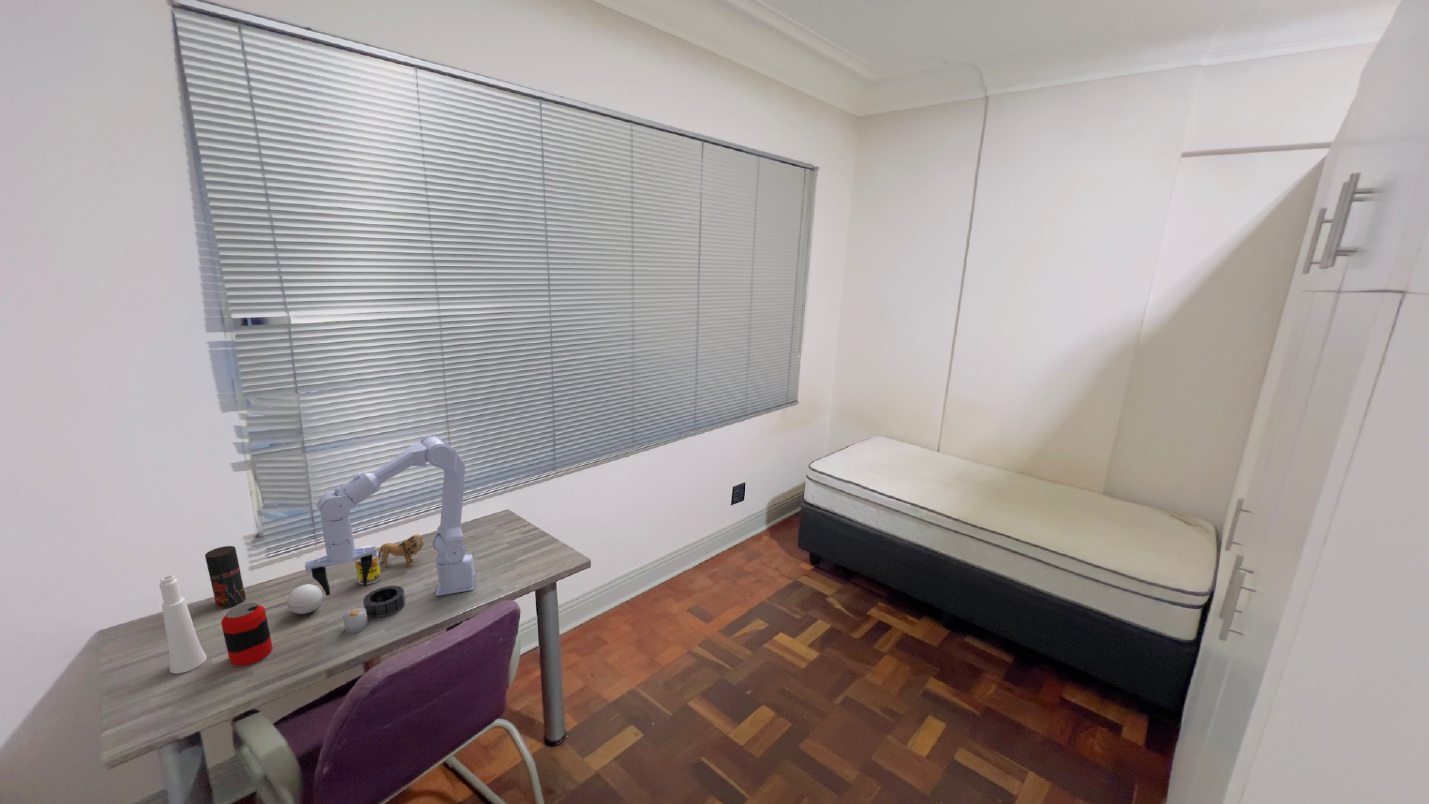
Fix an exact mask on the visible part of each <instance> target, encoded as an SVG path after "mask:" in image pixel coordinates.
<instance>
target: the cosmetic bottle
mask: <svg viewBox="0 0 1429 804" xmlns="http://www.w3.org/2000/svg"><path fill="white" fill-rule="evenodd" d="M159 588H160V593H161V596H162V600H163V603H162V604H161V610H162V616H163V622H164V626H165V627H164V628H165V632H166V633H165V634H166V639H167V645H168V652H169V653H168V654H169V672H170V673H171V674H176V675H177V674H184V673H186V672H190V671H193V670H194V669H197V668H198V667H200V666H201V665H203V664H204V663H206V661H207V659H208V656H207V654H206V653H205V651H204V649H203V647H202V645H201V643H200V640H199V638H198V635H197V632H196V629H195V626H194V624H193V620H192V617H191V613H190V610H189V607H188V605H187V602H186V599H185V597H182V594H181V593H182V592H181V589H180V586H179V581H178V579H177V578H176V576H175V575H174V574H169V575H166V576H162V578H160V583H159Z"/></svg>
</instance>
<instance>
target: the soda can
mask: <svg viewBox="0 0 1429 804" xmlns="http://www.w3.org/2000/svg"><path fill="white" fill-rule="evenodd" d="M221 619H222V620H221V622H220V624H221V628H222V634H223V637H224V641H225V647H226V650H227V655H228V659H229V663H230V664H231V665H233V666H236V667H245V666H248V665H252V664H255V663H257V662H259V661H262V660H263V659H264V658H266V657H267V656H268V655H269V654H270V653H271V652H272V650H273V643H272V638H271V634H270V633H271V632H270V629H269V622H268V618H267V613H266V609H265V607H264V606H262V605H260V604H258V603H257V602H247V603H243V604H242V603H241V604H238V605H236V606H234V607H231V608H229V610H228V611H226V613H225V615H224V616H223V617H222V618H221Z"/></svg>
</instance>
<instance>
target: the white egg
mask: <svg viewBox="0 0 1429 804" xmlns="http://www.w3.org/2000/svg"><path fill="white" fill-rule="evenodd" d="M323 598H324V597H323V592H322V589H321V588H320V587H318V586H317V585H315V584H310V583H307V584H303V585H300V586H297V587H296V588H295V589H293V590H292V591H291V592H290V594H289V596H288V598H287V604H284V605H283V606H281V607H280V609H281V608H283V607H286V605H287V607H288V608H289V610H290V611H292V612H293V613H295V614H299V615H305V614H309V613H311V612H314V611H315V610H317V608H318V607H320V605H321V603H322V601H323Z"/></svg>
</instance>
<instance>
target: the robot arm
mask: <svg viewBox="0 0 1429 804" xmlns="http://www.w3.org/2000/svg"><path fill="white" fill-rule="evenodd" d="M427 463H428V464H430V465H431V466H433V467H435V468H438V469H441V470H442V471H443V480H442V481H443V483H442V495H441V497H442V499H441V511H440V523H439V524H440V525H439V526H437V528H436V533H435V534H436V535H434V538H433V539H432V548H433V549H434V550H435V551H436V552H437V556H436V557H435V558H436V559H435V563H436V571H437V580H438V585H437V588H436V593H435V596H437V597H439V596H445V595H451V594H457V593H461V592H469V591H473V590H474V588H475V582H476V581H475V580H476V572H475V565H474V564H475V563H474V556H473V554H467V547H466V545H465V544H464V543H465V542H464V535H463V530H462V527H461V526H462V515H463V513H462V512H463V501H464V487H465V476H466V474H465V473H466V465H465V463H464V461H463V460H462V459H461V457H460V455H459V454H458V453H457V450H456V449H454V448H453V447H451V446H450V445H449V444H448V443H447V442H446V441H444V440H443V439H441V438H440V437H438V436H436V435H428V436H425V437H424V438H422V439H421V440H420V441H416V442H414V443H412V445H410V446H409V447H408V448H407V449H405V450H404V451H403V452H401V453H400V454H399V455H397V456H395V457H393V458H392V459H391V460H390V461H388V462H386V463H385V464H384V465H382V466H381V467H379V468H378V469H376V470H375V471H373V472H365V471H364V472H363V473H361V474H360V473H356V474H354V475H353V478H352V479H351V480H349V481H347V482H346V483H345V484H343V485H341V486H339V487H338V486H336V487H334V489H333V490H332V491H326V492H325V493H323V494H321V496H320V497H319V499H317V503H316V507H317V509H318V510H319V512H320V514H321V515H320V516H321V520H320V521H321V529H322V535H323V539H324V540H323V541H324V546H325V547H324V548H325V551H326V552H325V553H326V555H324V556H321V557H319V558H316V559H312V560H309V561H306V562H305V564H304V569H305V573H311V576H312V579H314V580H315V581H316V582H317V583H318V584H319V585H320V586H321V587H322V589H323V591H324V593H325V595H326V596H330V595H331V588H330V584H329V581H328V575H327V574H328V573H327V569H326V568H328V567H331V566H337V565H342V564H343V565H344V564H346V563H350V562H353V561H354V562H355V560H358V559H361V567H362V573H363V584H362V585H363V587H366V586H367V585H368V584H367V576H368V572H369V569H370V567H371V565H372V561H373V560H372V557H376V556H377V553H378V551H377V546H373V547H369V548H360V547H358V548H359V549H358V548H355V542H354V541H355V539H354V535H353V528H352V522H351V519H350V517H349V514H350V513H351V509H352V508H354V507H355V506H358V504H360V503H363V502H364V501H365V500H367V499H368V498H369V497H371V496H372V495H374V494H375V493H377V492H379V491H380V488H381V485H382V484H383V483H385V482H386V481H388V480H390V479H392V478H394V477H395V476H397V475H399V474H400V473H402V472H404V471H405V470H408V469H409V468H411V467H428V464H427Z"/></svg>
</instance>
